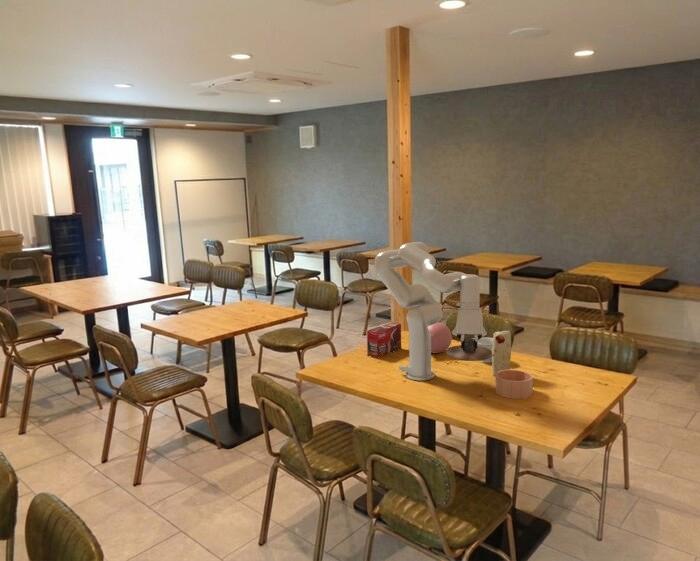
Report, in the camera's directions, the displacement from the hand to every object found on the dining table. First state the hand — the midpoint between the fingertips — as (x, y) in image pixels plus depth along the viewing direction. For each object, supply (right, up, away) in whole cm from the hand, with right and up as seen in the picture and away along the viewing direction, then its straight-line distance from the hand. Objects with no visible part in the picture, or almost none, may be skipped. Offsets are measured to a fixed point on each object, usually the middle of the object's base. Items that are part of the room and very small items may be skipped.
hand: (469, 349), depth 219 cm
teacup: (+16, -10, +40) cm, 44 cm away
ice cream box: (-31, -9, +57) cm, 65 cm away
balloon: (-6, -9, +53) cm, 54 cm away
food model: (+18, -14, +20) cm, 30 cm away
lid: (0, -2, 0) cm, 2 cm away
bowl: (+18, -17, 0) cm, 25 cm away
